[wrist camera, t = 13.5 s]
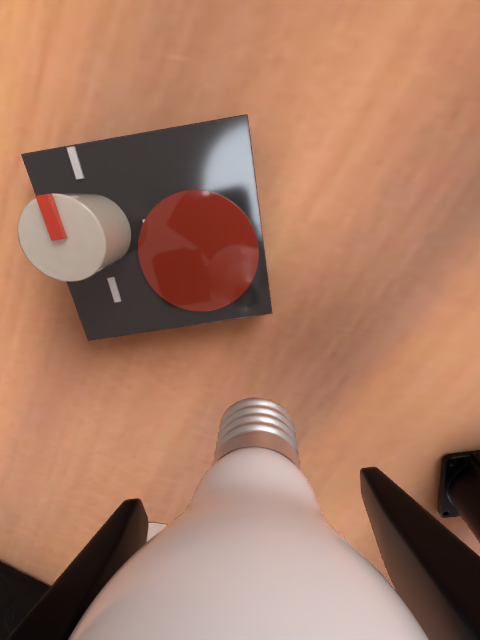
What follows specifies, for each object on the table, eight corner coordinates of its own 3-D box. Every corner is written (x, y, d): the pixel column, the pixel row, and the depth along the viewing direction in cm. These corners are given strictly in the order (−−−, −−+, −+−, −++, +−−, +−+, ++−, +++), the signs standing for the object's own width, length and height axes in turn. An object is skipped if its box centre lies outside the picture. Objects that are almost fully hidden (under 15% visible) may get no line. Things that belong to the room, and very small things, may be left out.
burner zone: (265, 301, 18) (265, 302, 18) (155, 317, 19) (154, 319, 18) (249, 180, 16) (249, 179, 16) (124, 200, 16) (122, 200, 16)
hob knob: (139, 259, 17) (113, 277, 14) (74, 269, 17) (32, 289, 14) (120, 188, 16) (86, 186, 12) (50, 199, 16) (-4, 201, 13)
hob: (269, 302, 20) (272, 314, 18) (80, 331, 21) (63, 345, 19) (246, 122, 17) (247, 113, 15) (18, 162, 17) (-10, 158, 15)
